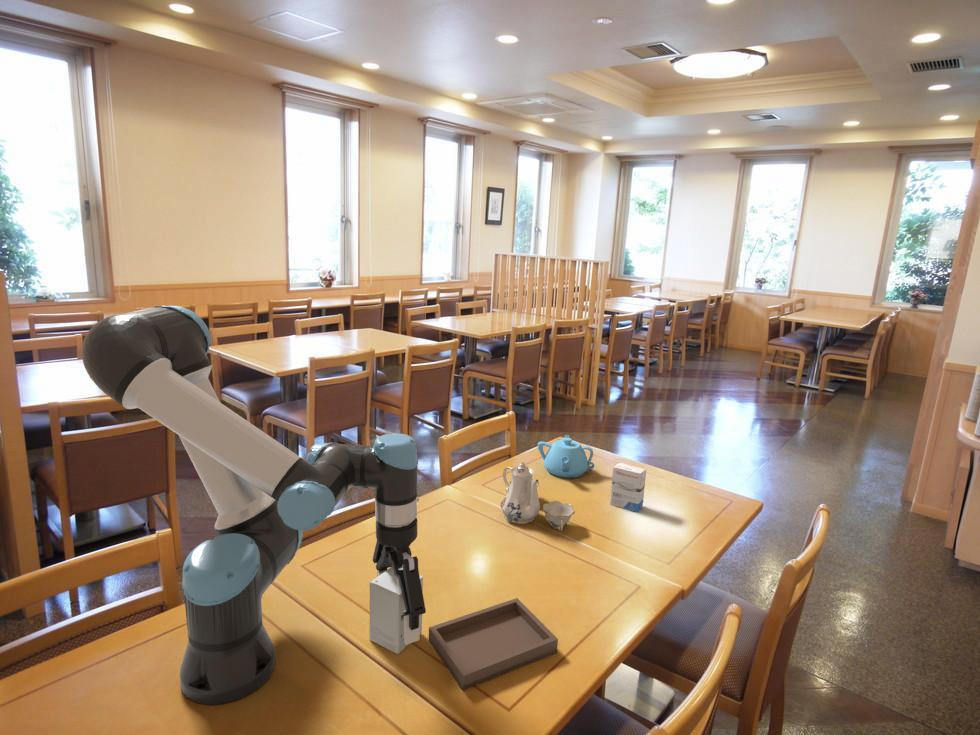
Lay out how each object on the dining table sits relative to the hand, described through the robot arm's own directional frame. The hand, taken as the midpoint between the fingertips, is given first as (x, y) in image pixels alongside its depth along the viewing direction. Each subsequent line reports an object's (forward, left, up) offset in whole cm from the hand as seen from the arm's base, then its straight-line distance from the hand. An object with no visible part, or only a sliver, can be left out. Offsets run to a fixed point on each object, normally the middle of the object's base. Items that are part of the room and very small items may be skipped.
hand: (397, 619), depth 113 cm
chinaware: (+51, +30, -4) cm, 59 cm away
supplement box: (0, 0, -4) cm, 4 cm away
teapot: (+79, +50, -4) cm, 93 cm away
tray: (+15, -11, -4) cm, 19 cm away
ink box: (+80, +22, -4) cm, 83 cm away
